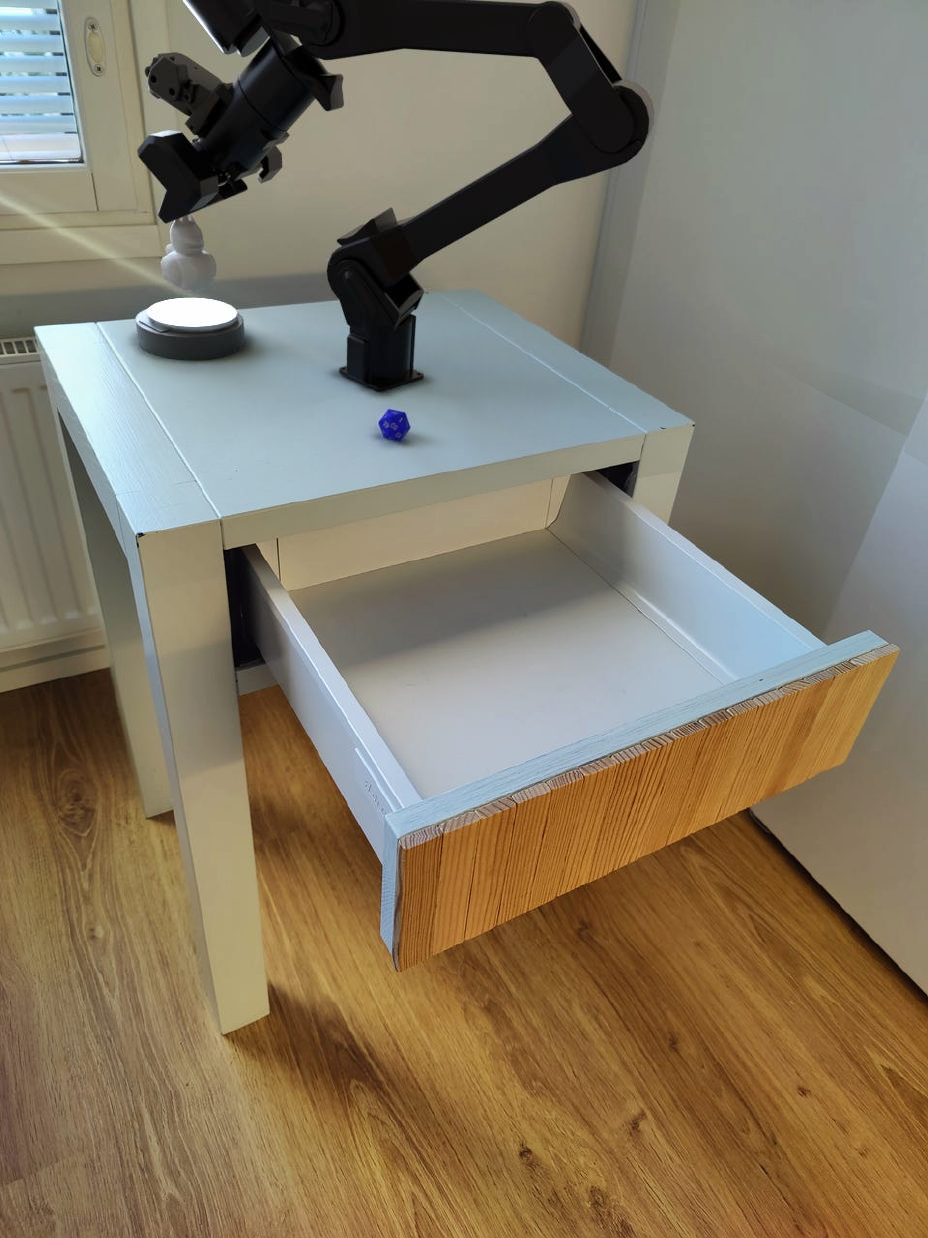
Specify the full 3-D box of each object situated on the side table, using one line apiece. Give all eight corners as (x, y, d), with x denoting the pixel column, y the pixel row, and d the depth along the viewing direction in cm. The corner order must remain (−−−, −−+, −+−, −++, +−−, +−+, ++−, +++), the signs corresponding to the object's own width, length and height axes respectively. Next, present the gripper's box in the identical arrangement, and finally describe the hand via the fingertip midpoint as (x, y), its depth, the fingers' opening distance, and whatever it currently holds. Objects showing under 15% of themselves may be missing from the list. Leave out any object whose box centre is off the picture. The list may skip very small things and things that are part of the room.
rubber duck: (183, 301, 87) (171, 215, 82) (151, 283, 90) (138, 200, 86) (230, 292, 90) (222, 209, 85) (198, 275, 93) (188, 194, 89)
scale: (206, 317, 100) (204, 290, 98) (265, 346, 94) (264, 317, 92) (118, 335, 93) (113, 306, 91) (176, 367, 87) (173, 337, 85)
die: (383, 430, 80) (404, 406, 79) (400, 449, 79) (421, 425, 78) (367, 424, 78) (388, 399, 77) (384, 444, 77) (405, 419, 76)
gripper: (246, 17, 83) (155, 133, 91) (142, 20, 68) (45, 159, 76) (325, 121, 86) (231, 224, 94) (243, 146, 71) (140, 266, 79)
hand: (166, 217), depth 86 cm, fingers closed on rubber duck
